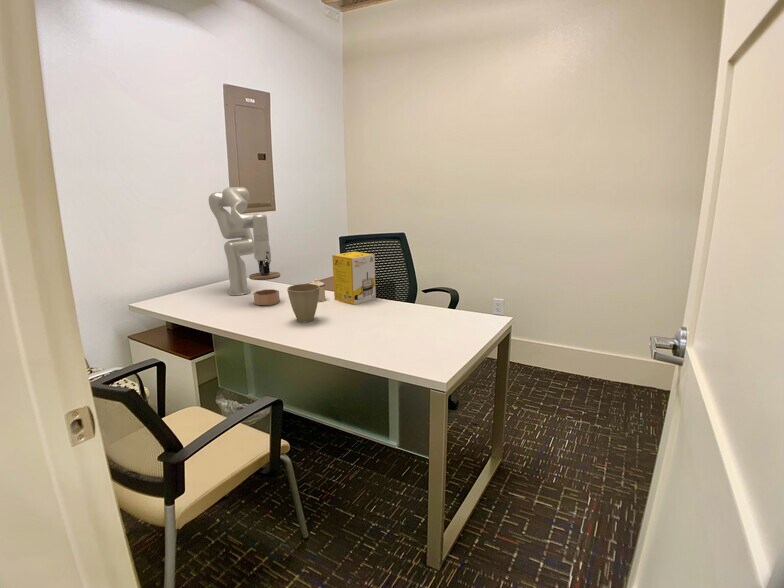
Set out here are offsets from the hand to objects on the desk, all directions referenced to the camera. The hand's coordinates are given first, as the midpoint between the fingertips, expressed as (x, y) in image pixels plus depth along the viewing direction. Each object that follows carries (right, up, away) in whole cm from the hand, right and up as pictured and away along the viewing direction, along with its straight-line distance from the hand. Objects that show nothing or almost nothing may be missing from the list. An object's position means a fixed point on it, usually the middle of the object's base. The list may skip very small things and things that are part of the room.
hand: (264, 272), depth 234 cm
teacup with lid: (+26, -15, +10) cm, 31 cm away
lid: (0, -2, +1) cm, 2 cm away
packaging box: (+48, -15, +9) cm, 51 cm away
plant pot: (+27, -24, -26) cm, 44 cm away
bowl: (0, -16, +4) cm, 17 cm away
